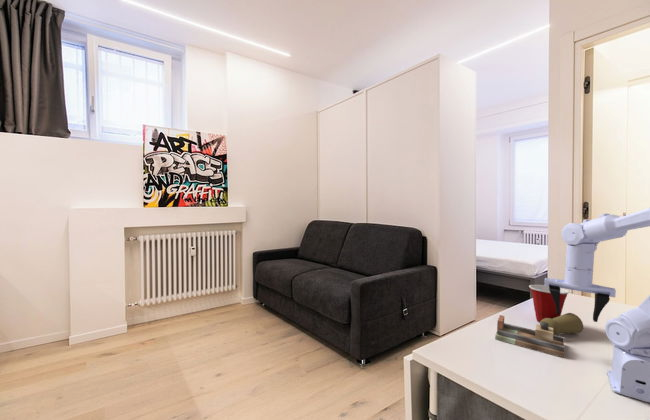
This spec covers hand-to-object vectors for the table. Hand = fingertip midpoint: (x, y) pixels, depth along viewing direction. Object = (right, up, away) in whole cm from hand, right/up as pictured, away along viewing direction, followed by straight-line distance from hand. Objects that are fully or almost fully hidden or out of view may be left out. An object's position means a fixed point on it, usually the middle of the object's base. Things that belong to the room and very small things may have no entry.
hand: (576, 316), depth 81 cm
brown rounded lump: (+9, -6, +12) cm, 16 cm away
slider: (-6, -8, +4) cm, 11 cm away
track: (-9, -9, +6) cm, 14 cm away
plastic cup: (+7, -9, +19) cm, 22 cm away
